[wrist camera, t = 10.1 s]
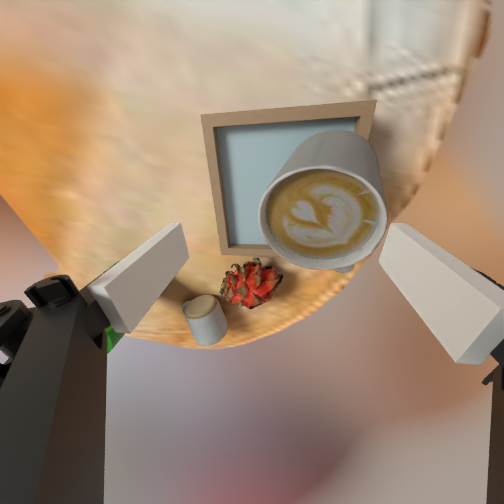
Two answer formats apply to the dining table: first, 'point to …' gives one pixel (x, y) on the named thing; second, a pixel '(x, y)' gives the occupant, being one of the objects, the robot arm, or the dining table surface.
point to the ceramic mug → (205, 319)
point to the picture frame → (263, 160)
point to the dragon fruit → (250, 284)
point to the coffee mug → (326, 203)
